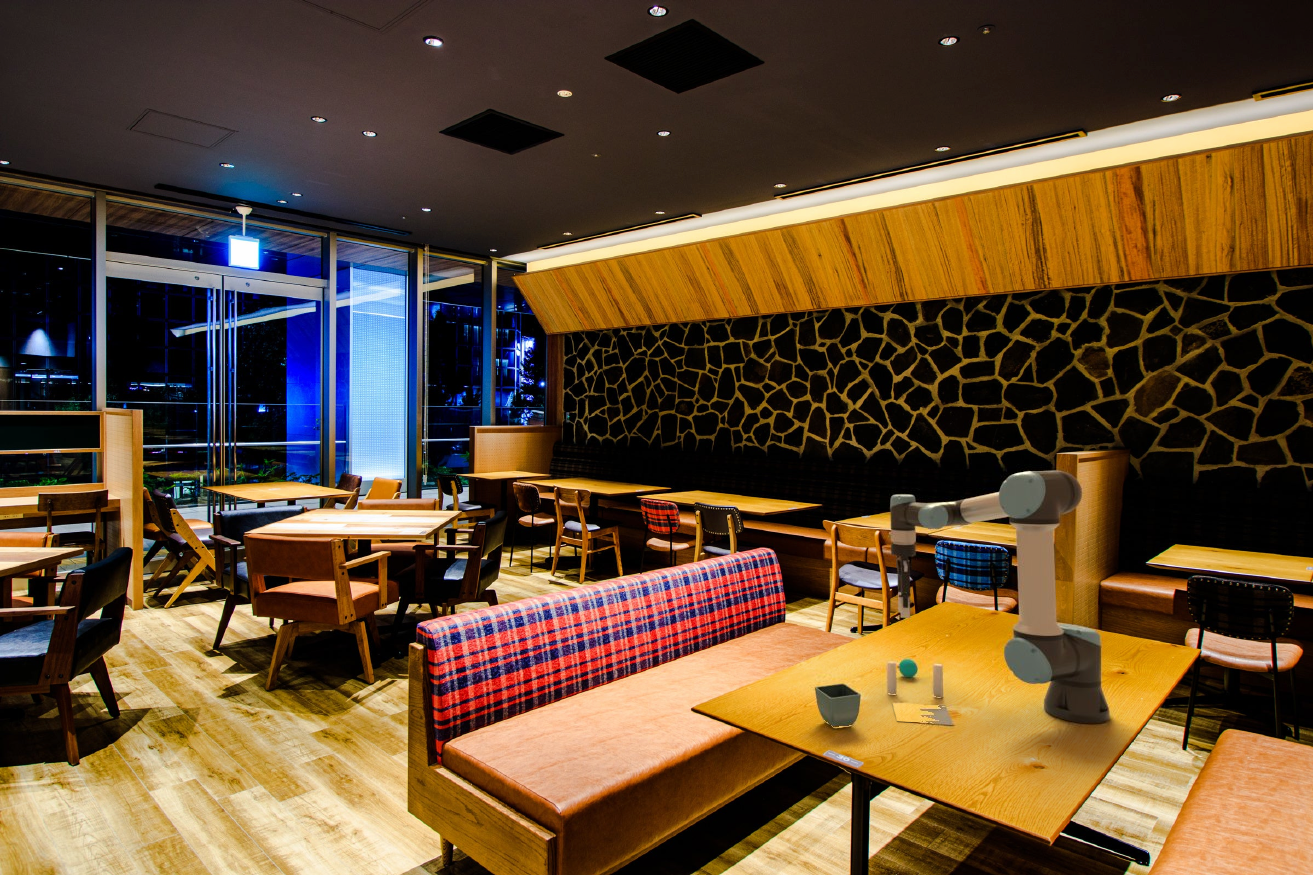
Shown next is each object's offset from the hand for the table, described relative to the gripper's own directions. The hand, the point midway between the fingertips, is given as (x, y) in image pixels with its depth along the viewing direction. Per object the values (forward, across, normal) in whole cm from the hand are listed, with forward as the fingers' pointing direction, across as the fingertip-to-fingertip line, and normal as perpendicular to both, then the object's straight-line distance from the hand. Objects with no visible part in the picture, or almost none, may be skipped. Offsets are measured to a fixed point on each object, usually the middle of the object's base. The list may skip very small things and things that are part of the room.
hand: (904, 614), depth 232 cm
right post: (+17, +26, +6) cm, 31 cm away
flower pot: (+17, +52, -22) cm, 59 cm away
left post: (+17, +26, -6) cm, 31 cm away
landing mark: (+17, +40, 0) cm, 43 cm away
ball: (+14, +10, 0) cm, 17 cm away
